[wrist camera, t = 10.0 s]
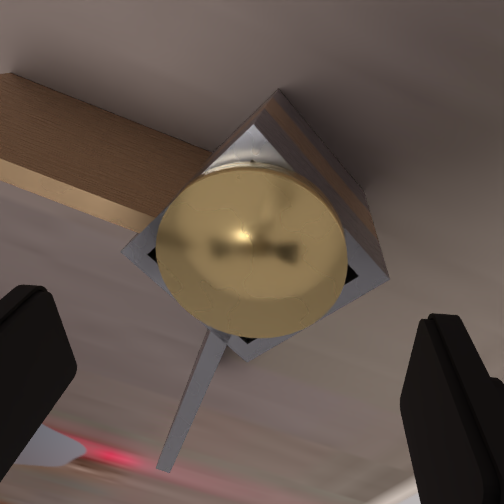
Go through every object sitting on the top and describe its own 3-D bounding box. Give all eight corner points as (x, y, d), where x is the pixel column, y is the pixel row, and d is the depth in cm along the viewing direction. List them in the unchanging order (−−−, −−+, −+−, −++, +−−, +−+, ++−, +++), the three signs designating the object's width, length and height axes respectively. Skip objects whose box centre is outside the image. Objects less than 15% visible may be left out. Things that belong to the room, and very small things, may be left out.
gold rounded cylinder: (277, 85, 17) (248, 124, 10) (361, 181, 19) (389, 277, 11) (193, 172, 20) (119, 255, 12) (272, 249, 21) (248, 363, 14)
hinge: (115, -108, 15) (-58, -229, 8) (403, 239, 20) (448, 345, 13) (-42, 160, 22) (-205, 218, 15) (203, 364, 27) (165, 475, 21)
